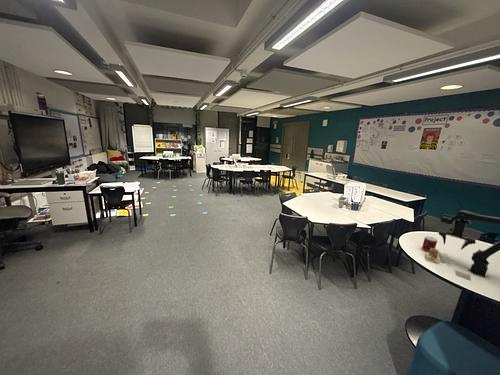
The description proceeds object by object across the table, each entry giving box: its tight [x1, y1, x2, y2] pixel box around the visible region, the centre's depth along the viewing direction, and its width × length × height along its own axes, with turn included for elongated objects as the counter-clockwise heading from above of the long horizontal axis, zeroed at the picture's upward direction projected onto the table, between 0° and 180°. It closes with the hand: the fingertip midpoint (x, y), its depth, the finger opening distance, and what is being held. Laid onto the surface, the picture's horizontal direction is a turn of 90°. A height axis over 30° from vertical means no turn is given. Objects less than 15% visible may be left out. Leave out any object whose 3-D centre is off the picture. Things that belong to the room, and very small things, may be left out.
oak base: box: [424, 251, 440, 265], centre depth 152 cm, size 7×7×4 cm
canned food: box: [421, 235, 438, 253], centre depth 164 cm, size 8×8×11 cm
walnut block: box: [429, 248, 440, 258], centre depth 150 cm, size 4×4×5 cm
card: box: [454, 270, 472, 281], centre depth 136 cm, size 7×7×1 cm
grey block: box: [438, 252, 450, 264], centre depth 151 cm, size 4×4×5 cm
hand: (452, 246), depth 149 cm, fingers open, 9 cm apart
